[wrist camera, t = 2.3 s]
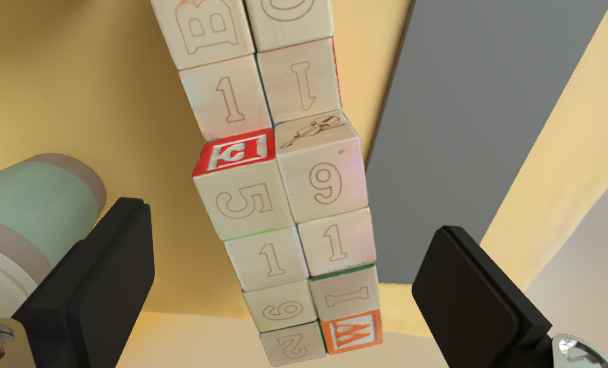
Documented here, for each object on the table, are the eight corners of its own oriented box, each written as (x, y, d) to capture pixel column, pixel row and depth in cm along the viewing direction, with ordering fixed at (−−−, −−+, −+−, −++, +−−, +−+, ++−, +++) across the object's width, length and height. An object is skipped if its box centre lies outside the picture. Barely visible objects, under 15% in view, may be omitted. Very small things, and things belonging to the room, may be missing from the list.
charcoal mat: (431, -67, 18) (436, -70, 17) (615, -21, 20) (624, -22, 20) (334, 275, 31) (335, 280, 30) (453, 281, 33) (456, 285, 32)
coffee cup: (-30, 139, 21) (-323, 268, 11) (103, 130, 22) (-50, 244, 11) (30, 239, 25) (-138, 402, 15) (139, 229, 26) (53, 379, 15)
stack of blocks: (174, -78, 17) (12, -229, 6) (288, -102, 17) (327, -297, 6) (269, 231, 27) (271, 374, 17) (339, 216, 27) (386, 349, 17)
